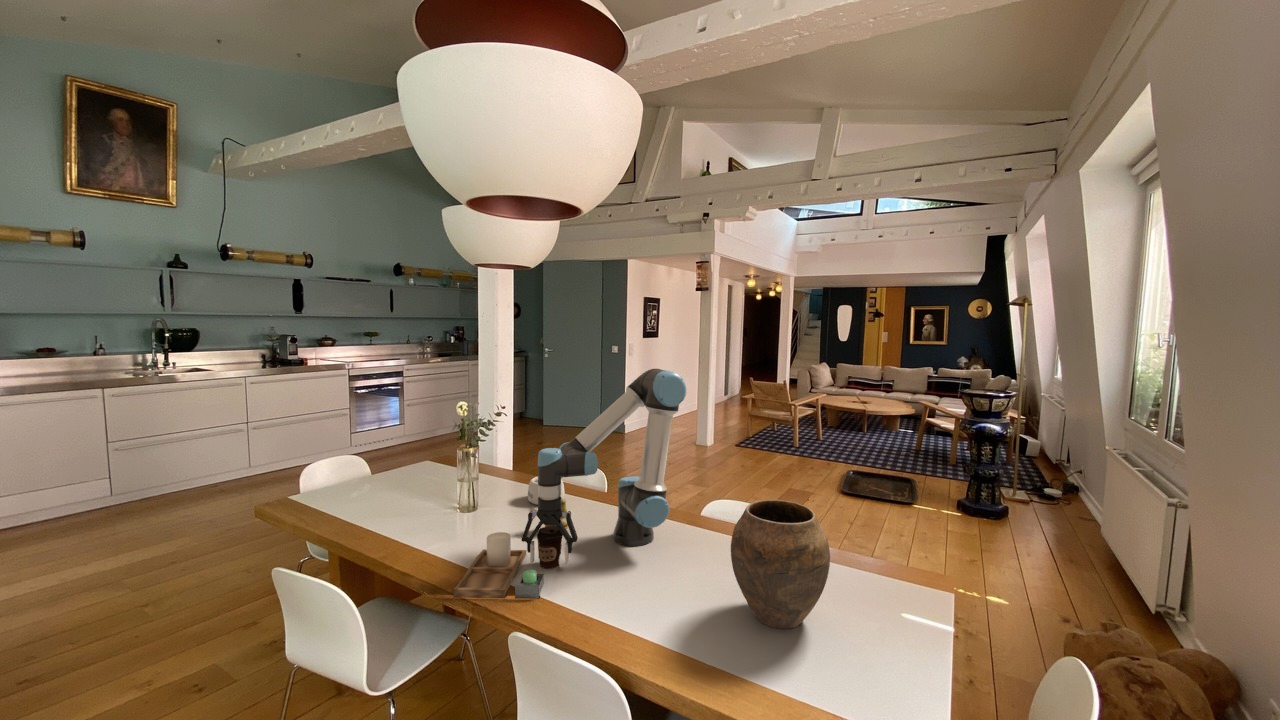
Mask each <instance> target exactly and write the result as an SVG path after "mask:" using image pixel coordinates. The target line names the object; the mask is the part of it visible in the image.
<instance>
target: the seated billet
mask: <svg viewBox="0 0 1280 720" xmlns="http://www.w3.org/2000/svg"><path fill="white" fill-rule="evenodd" d="M511 537H512V536H511V534H510V533H509V532H505V531H504V532H503V531H498V532H493V533H490V534H488V535H487V536H486V550H487V566H488V567H503V568H504V567H506V566H508V565H509V564H510V563H511V550H512V549H511V546H512V545H511Z"/></svg>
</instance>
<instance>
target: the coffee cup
mask: <svg viewBox="0 0 1280 720" xmlns="http://www.w3.org/2000/svg"><path fill="white" fill-rule="evenodd" d="M536 540H537V549H538V550H537V552H538V554H537V555H538V560H539V566H540V568H542V569H544V570H552V569H555V568H557V570H559V569H560V556H561V554H562V540H563V535H562V533H561V532H560V530H559V529H558V528H557V527H556V526H547V527H545V526H541V527H540V529H539V530H538V532H537V533H536Z"/></svg>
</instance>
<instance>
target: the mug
mask: <svg viewBox="0 0 1280 720" xmlns="http://www.w3.org/2000/svg"><path fill="white" fill-rule="evenodd" d="M565 491H566V490H565V486H564V481H563V479H562V478H561V497H562V499H565V495H566V494H565ZM538 498H539V496H538V476H535V477H533V478H532V479H530V480H529V483H528V488H527V499H528V501H529V502H530V503H531V504H532V505H535V506H538Z"/></svg>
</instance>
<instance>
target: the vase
mask: <svg viewBox="0 0 1280 720" xmlns="http://www.w3.org/2000/svg"><path fill="white" fill-rule="evenodd" d="M731 536H732V537H731V541H730V558H731V565H732V570H733V574H734V577H735V579H736V582H737V585H738V586H739V589H740V591H741V593H742V595H743V597H744V599H745V600H746V603H747V605H748V607H749V608H750V610H751V612H752V613H753V615H754V616H755V618H756V619H757V620H758V621H760V622H761V623H762V624H764V625H766V626H769V627H772V628H774V629H779V630H791V629H794V628H796V627H799V625H800V624H801V623H802V622H803V621H804V620H805V619H806V618H807V617H808V616H809V614H810V613H811V612H812V610H814V608H815V606H816V605H817V603H818V601H819V599H820V598H821V596H822V594H823V591H824V589H825V587H826V584H827V580H828V575H829V573H830V566H831V551H830V544H829V539H828V536H827V533H826V532H825V530H824V528H823V527H822V525H821V523H820V521H819V519H818V517H817V515H816V513H815V512H814V510H812V509H810V508H809V507H808V506H805V505H803V504H800V503H798V502H793V501H788V500H783V499H764V500H757V501H754V502H751V503H750V504H748V505H747V506H746V507H745V509H744V511H743V512H742V515H741V516H740V517H739V519H738V521H737V522H736V524H735V526H734V527H733V531H732V535H731Z"/></svg>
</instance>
